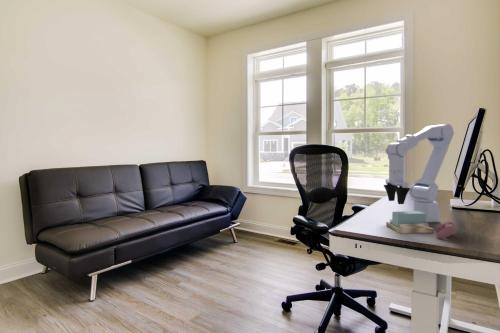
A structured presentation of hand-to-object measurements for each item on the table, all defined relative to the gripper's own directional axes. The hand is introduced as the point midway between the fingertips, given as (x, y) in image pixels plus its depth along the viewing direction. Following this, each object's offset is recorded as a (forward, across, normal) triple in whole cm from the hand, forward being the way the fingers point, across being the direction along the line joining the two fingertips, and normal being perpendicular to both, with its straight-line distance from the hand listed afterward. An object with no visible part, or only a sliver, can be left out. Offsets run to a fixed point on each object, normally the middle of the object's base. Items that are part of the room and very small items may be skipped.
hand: (396, 202), depth 127 cm
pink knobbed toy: (+10, +19, +8) cm, 23 cm away
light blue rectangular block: (+8, +8, +1) cm, 11 cm away
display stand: (+9, +8, +1) cm, 12 cm away
